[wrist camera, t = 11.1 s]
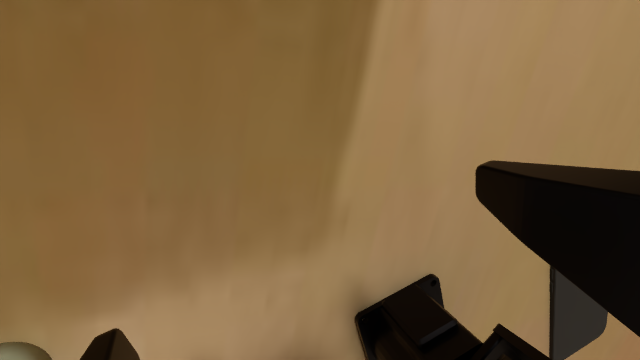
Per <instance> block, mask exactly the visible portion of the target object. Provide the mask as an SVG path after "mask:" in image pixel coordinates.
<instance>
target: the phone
mask: <svg viewBox="0 0 640 360" xmlns="http://www.w3.org/2000/svg"><path fill="white" fill-rule="evenodd" d="M607 314H608V311H607V310H605V309H604V308H603V307H602V306H600V305H599V304H598V303H597V302H595V301H594V300H593V299H592V298H590V297H589V296H588V295H587V294H585V293H584V292H583V291H582V290H580V289H579V288H578V287H577V286H575V285H574V284H573V283H572V282H570V281H569V280H568V279H567V278H566V277H564V276H563V275H562V274H561V273H559V272H558V271H557V270H556V269H554V268H553V267H552V266H551V265H550V349H549V355H550V359H552V360H564V359H566V358H567V357H569V356H570V355H572V354H574V353H575V352H577V351H578V350H580V349H581V348H583V347H584V346H586V345H587V344H589V343H590V342H592V341H593V340H595V339H596V338H598V337H599V336H600V335H601V334H602V333H603V332H604V330H605V327H606V323H607Z"/></svg>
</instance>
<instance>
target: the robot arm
mask: <svg viewBox="0 0 640 360" xmlns="http://www.w3.org/2000/svg"><path fill="white" fill-rule="evenodd" d="M476 196H477V198H478V200H479V201H480V202H481V203H482V204H483V205H484V206H485V207H486V208H487V209H488V210H489V211H490V212H491V213H492V214H493V215H494V216H495V217H496V218H497V219H498V220H499V221H500V222H501V223H502V224H503V225H504V226H505V227H506V228H507V229H508V230H509V231H510V232H511V233H512V234H513V235H515V236H516V237H517V238H518V239H519V240H520V241H521V242H522V243H523V244H525V245H526V246H527V247H528V248H529V249H531V250H532V251H533V252H534V253H536V254H537V255H538V256H539V257H541V258H542V259H543V260H544V261H546V262H547V263H548V264H549V265H551V266H552V267H553V268H554V269H556V270H557V271H558V272H559V273H561V274H562V275H563V276H564V277H566V278H567V279H568V280H569V281H570V282H572V283H573V284H574V285H575V286H577V287H578V288H579V289H580V290H582V291H583V292H584V293H585V294H587V295H588V296H589V297H590V298H592V299H593V300H594V301H595V302H597V303H598V304H599V305H600V306H602V307H603V308H604V309H605V310H607V311H608V312H609V313H610V314H612V315H613V316H614V317H615V318H616V319H618V320H619V321H620V322H621V323H623V324H624V325H625V326H626V327H628V328H629V329H630V330H631V331H633V332H634V333H635V334H636V335H638V336H639V337H640V171H630V170H616V169H603V168H589V167H575V166H562V165H548V164H534V163H521V162H507V161H488V162H486V163H484V164H481V165H479V166H478V167H477V169H476ZM364 318H365V319H364ZM362 319H364V320H362ZM355 321H356V325H357V328H358V331H359V335H360V338H361V341H362V345H363V348H364V351H365V355H366V358H367V360H552V359H550V358H549V357H547V356H546V355H544V354H543V353H541V352H540V351H538V350H537V349H536V348H534V347H533V346H531V345H530V344H528V343H527V342H525V341H524V340H522V339H521V338H520V337H518V336H517V335H515V334H514V333H512V332H511V331H509V330H508V329H506V328H505V327H504V326H502V325H501V324H498V325H497V326H496V327H495V328H494V329H493V331H494V332H493V333H492V334H491V335H490V336H489V338H488V339H487V340H486V341H485V342H484V343H482V342H481V341H480V340H479V339H477V338H476V337H475V336H474V335H473V334H472V333H471V332H470V331H468V330H467V329H466V328H465V327H464V326H463V325H462V324H460V323H459V322H458V321H457V319H456V318H454V317H453V316H452V315H451V314H450V313H449V312H448V311H446V310H445V309H444V305H443V299H442V293H441V287H440V282H439V278H438V277H436V276H435V275H434V274H429V275H427V276H425V277H423V278H422V279H420V280H418V281H416V282H414V283H412V284H411V285H409V286H407V287H405V288H403V289H401V290H399V291H398V292H396V293H394V294H392V295H390V296H388V297H387V298H385V299H383V300H381V301H379V302H377V303H375V304H374V305H372V306H370V307H368V308H366V309H364V310H363V311H361V312H359V313H358V314H357V315H356V318H355ZM80 360H140V358H139V356H138V354H137V352H136V350H135V349H134V348H133V346H132V345H131V343H130V342H129V341H128V339H127V338H126V336H125V335H124V334H123V332H122V331H121V330H119V329H116V328H115V329H112V330H110V331H107V332H105V333H103V334H101V335H99V336H97V337H95V338H94V340H93V341H92V342H91V344H90V345H89V347H88V348H87V350H86V351H85V353H84V354H83V355H82V357H81V358H80Z"/></svg>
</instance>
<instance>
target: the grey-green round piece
mask: <svg viewBox="0 0 640 360" xmlns="http://www.w3.org/2000/svg"><path fill="white" fill-rule="evenodd" d="M0 360H52V359H51V357H50V356H49V354H48V353H47V352H46V351H44V350H43V349H41V348H40V347H38V346H35V345H33V344H29V343H24V342H7V343H1V344H0Z"/></svg>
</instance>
